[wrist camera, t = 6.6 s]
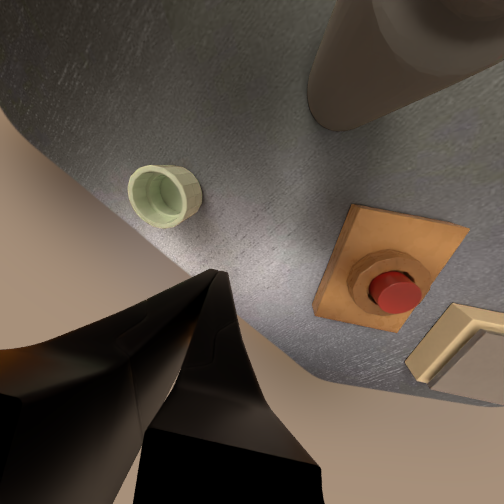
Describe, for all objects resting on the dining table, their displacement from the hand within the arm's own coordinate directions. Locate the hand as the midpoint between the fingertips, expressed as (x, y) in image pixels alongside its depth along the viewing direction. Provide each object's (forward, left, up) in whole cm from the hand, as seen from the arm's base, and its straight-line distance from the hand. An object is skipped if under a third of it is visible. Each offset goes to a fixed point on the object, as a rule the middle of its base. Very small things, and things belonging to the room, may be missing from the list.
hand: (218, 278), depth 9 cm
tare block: (-3, -14, -11) cm, 18 cm away
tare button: (-3, -14, -8) cm, 16 cm away
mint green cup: (+1, +7, -11) cm, 13 cm away
